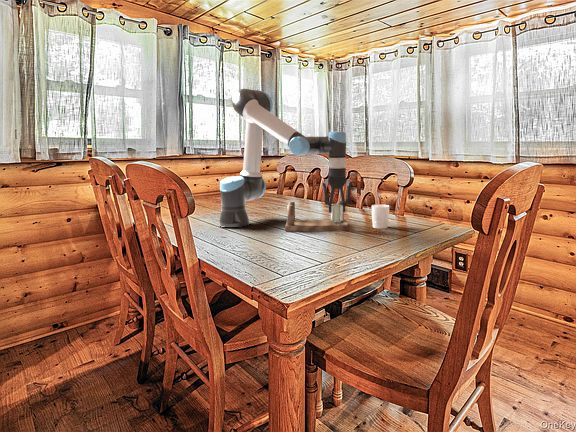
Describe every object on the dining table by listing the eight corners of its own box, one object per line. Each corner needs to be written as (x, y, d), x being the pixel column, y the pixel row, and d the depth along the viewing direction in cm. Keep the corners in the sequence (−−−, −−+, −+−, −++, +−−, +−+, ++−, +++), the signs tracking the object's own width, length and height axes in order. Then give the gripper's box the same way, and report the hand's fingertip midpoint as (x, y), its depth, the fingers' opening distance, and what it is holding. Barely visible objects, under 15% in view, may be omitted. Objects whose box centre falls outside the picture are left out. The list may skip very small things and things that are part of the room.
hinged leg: (338, 220, 178) (338, 201, 177) (345, 220, 177) (345, 201, 175) (331, 223, 171) (331, 204, 169) (338, 224, 169) (338, 204, 168)
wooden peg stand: (285, 231, 171) (284, 206, 168) (287, 225, 184) (286, 201, 181) (348, 230, 169) (348, 205, 167) (345, 224, 182) (345, 200, 180)
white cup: (389, 229, 169) (390, 207, 167) (371, 229, 171) (371, 207, 169) (388, 225, 177) (388, 204, 175) (371, 225, 179) (371, 204, 177)
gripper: (318, 168, 163) (318, 221, 168) (357, 167, 163) (356, 221, 167) (317, 167, 170) (317, 218, 175) (354, 166, 170) (354, 217, 175)
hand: (336, 219), depth 171 cm, fingers open, 3 cm apart
